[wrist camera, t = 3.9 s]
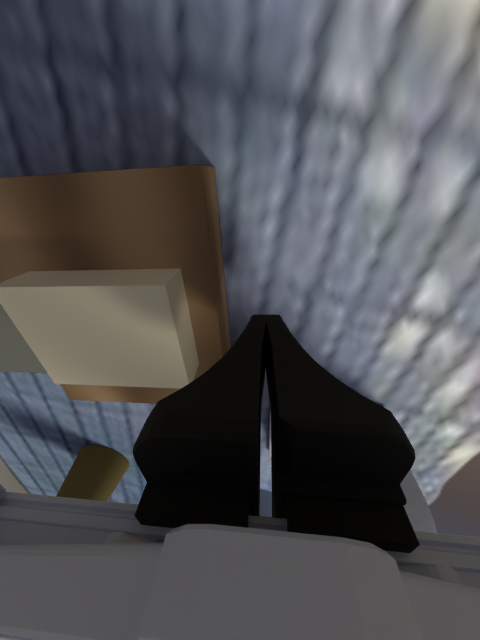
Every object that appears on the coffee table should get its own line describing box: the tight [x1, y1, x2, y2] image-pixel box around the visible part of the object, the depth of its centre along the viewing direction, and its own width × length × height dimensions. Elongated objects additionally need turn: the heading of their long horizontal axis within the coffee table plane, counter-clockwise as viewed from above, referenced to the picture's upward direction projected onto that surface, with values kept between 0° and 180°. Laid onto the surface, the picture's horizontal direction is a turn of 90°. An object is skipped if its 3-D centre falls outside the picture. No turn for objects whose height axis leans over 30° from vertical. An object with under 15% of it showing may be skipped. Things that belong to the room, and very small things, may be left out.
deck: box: [0, 164, 231, 404], centre depth 14 cm, size 12×14×3 cm
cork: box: [56, 445, 129, 501], centre depth 24 cm, size 6×6×11 cm
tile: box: [0, 268, 199, 389], centre depth 12 cm, size 8×6×2 cm
